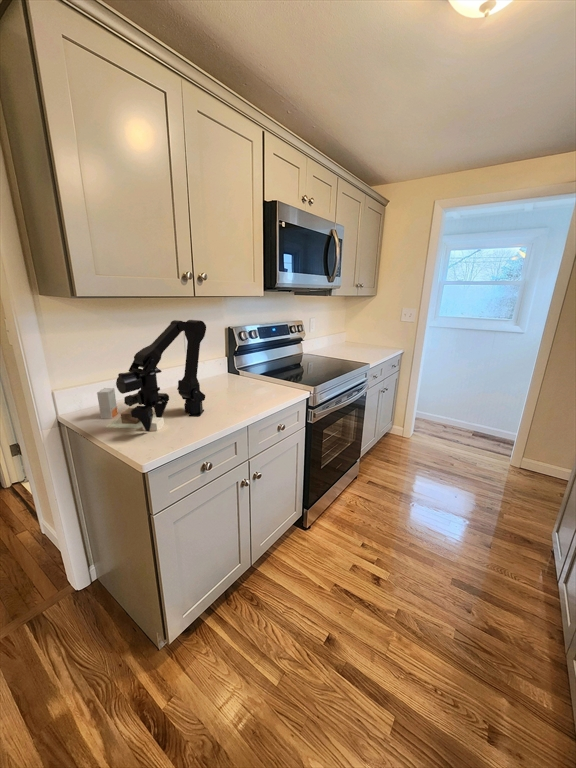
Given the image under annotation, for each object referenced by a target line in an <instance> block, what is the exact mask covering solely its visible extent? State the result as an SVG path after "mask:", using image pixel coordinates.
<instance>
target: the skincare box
mask: <svg viewBox="0 0 576 768" xmlns="http://www.w3.org/2000/svg"><path fill="white" fill-rule="evenodd" d="M115 390H116V389H115V387H103V388H102V389H100V390H99V391H97V392H96V395H97V400H98V408H99V415H100V419H101V420H103V419H106V420H107V419H113V418H114V417H116V416H117V414H118V413H119V411H118V406H117V399H116V392H115Z"/></svg>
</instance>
